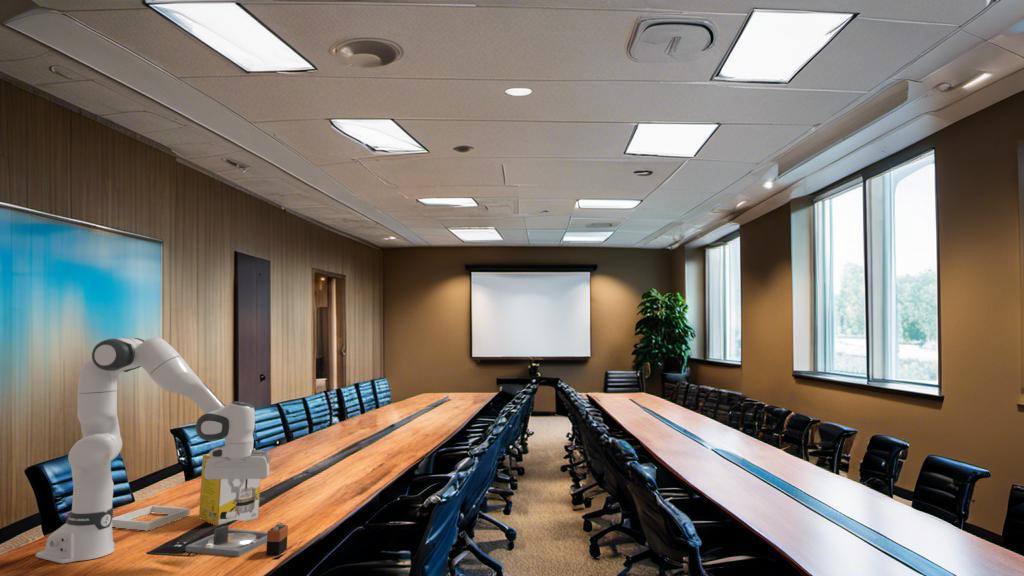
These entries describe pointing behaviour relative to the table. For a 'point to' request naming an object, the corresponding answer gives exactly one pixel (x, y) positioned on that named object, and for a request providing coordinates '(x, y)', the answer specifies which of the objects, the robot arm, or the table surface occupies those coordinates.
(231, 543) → the dial
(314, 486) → the table surface
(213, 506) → the packaging box
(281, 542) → the battery
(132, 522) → the light grey rectangular frame
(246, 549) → the panel
